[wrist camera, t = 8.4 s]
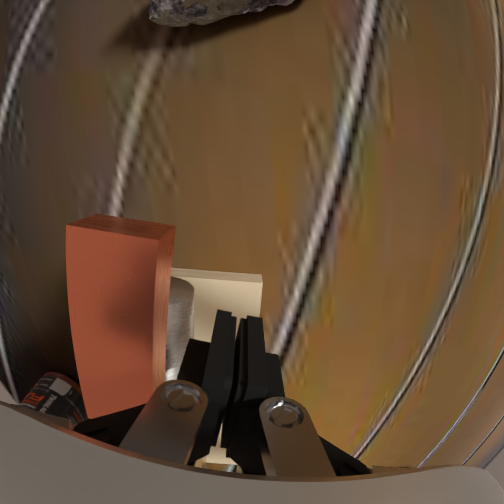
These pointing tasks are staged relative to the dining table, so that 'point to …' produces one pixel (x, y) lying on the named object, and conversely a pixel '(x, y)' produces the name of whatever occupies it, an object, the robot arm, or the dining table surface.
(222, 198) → the dining table surface
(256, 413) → the robot arm
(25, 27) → the dining table surface
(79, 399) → the supplement bottle
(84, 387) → the lever
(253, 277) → the board
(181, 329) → the valve body
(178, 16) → the mineral rock
